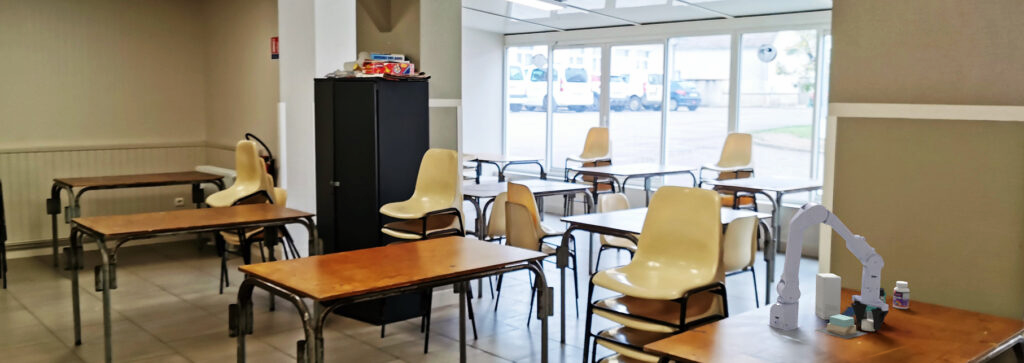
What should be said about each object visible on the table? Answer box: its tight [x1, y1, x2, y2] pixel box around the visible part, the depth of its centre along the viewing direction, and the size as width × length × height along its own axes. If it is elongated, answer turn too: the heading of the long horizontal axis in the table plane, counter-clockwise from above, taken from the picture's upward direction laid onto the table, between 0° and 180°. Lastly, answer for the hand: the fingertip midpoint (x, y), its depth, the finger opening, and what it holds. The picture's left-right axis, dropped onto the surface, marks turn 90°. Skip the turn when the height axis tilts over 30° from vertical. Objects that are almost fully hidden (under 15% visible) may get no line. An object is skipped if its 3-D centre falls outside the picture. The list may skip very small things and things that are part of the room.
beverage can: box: [864, 286, 887, 322], centre depth 293 cm, size 7×7×12 cm
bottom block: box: [826, 322, 857, 336], centre depth 277 cm, size 6×6×2 cm
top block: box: [829, 313, 855, 328], centre depth 277 cm, size 6×6×2 cm
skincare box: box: [814, 272, 842, 320], centre depth 297 cm, size 8×7×16 cm
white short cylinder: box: [860, 319, 876, 332], centre depth 281 cm, size 4×4×4 cm
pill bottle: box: [892, 280, 910, 310], centre depth 314 cm, size 5×5×10 cm
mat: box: [814, 326, 868, 340], centre depth 277 cm, size 12×12×1 cm
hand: (868, 326), depth 281 cm, fingers open, 7 cm apart
